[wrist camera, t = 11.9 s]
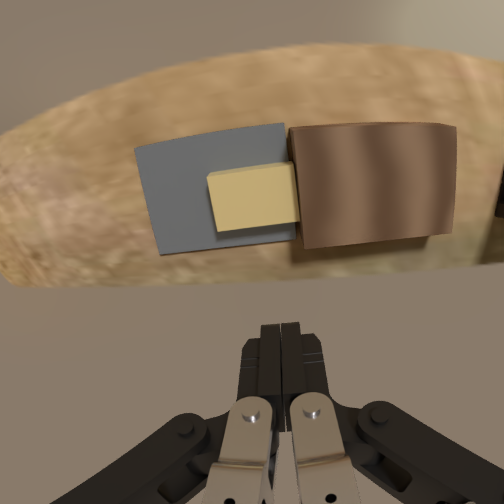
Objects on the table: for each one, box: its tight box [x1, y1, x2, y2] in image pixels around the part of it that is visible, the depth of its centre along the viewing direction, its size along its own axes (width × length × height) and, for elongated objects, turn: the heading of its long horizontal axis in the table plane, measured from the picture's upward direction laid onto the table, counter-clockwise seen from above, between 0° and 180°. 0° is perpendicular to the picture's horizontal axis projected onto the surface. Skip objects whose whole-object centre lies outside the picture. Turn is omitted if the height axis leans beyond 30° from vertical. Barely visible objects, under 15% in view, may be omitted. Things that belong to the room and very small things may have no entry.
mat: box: [134, 123, 296, 254], centre depth 32 cm, size 15×12×1 cm
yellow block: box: [207, 161, 300, 232], centre depth 30 cm, size 8×6×2 cm
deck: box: [289, 122, 457, 249], centre depth 29 cm, size 16×11×4 cm
